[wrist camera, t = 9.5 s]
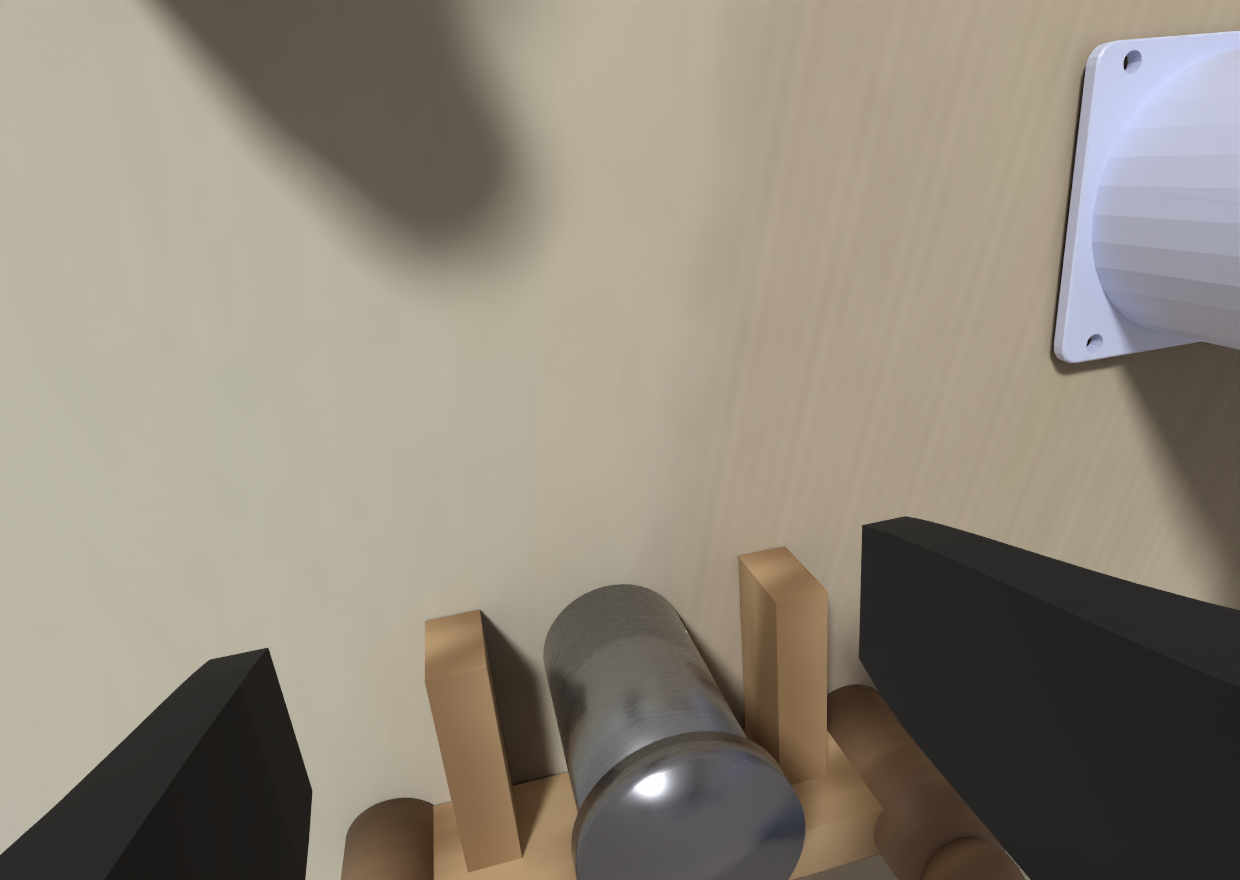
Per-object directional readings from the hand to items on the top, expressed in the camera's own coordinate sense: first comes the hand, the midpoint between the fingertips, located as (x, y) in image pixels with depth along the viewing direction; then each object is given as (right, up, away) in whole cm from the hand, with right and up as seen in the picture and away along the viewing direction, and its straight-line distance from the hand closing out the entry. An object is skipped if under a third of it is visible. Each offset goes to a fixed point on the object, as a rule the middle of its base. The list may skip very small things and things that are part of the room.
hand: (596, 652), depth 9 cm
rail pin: (0, -3, +12) cm, 12 cm away
